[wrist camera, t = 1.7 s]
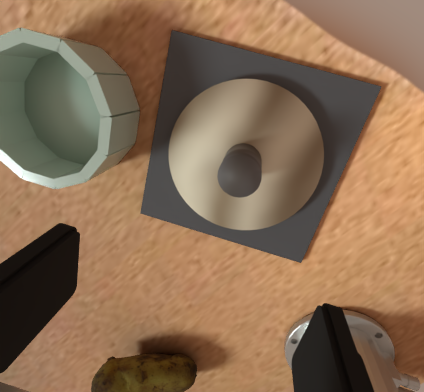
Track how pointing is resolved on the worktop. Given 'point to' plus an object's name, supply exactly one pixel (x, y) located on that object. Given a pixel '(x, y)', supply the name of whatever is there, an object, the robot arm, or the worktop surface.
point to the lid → (246, 154)
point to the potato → (146, 374)
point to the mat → (274, 73)
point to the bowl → (62, 109)
